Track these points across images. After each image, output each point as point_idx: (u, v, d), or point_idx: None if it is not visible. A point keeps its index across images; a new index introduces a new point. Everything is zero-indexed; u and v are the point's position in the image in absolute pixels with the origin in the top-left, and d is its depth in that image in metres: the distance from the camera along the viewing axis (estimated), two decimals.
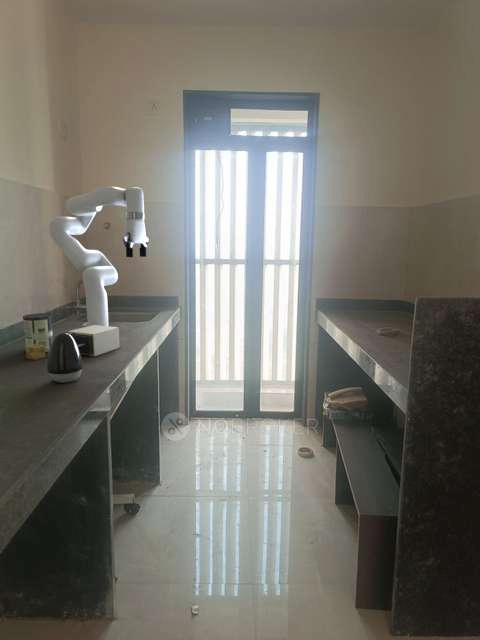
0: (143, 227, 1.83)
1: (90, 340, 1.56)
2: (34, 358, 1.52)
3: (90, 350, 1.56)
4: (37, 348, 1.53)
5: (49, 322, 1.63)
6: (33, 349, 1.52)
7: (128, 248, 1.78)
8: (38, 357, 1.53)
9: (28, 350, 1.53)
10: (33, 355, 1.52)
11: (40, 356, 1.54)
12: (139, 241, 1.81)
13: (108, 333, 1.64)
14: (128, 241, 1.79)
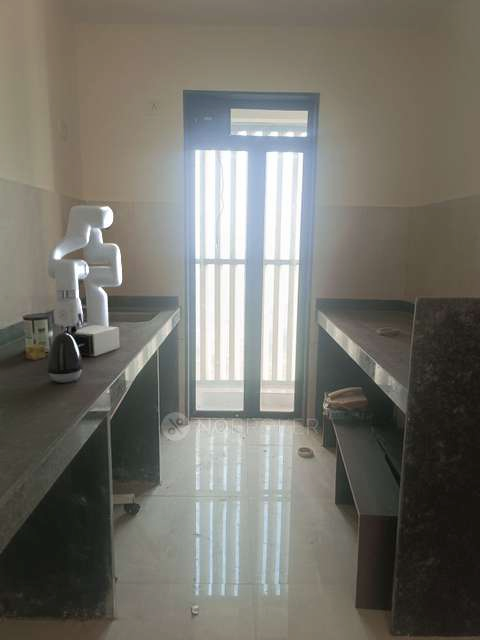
0: None
1: (90, 340, 1.56)
2: (34, 358, 1.52)
3: (90, 350, 1.56)
4: (37, 348, 1.53)
5: (49, 322, 1.63)
6: (33, 349, 1.52)
7: None
8: (38, 357, 1.53)
9: (28, 350, 1.53)
10: (33, 355, 1.52)
11: (40, 356, 1.54)
12: None
13: (108, 333, 1.64)
14: (72, 326, 1.52)
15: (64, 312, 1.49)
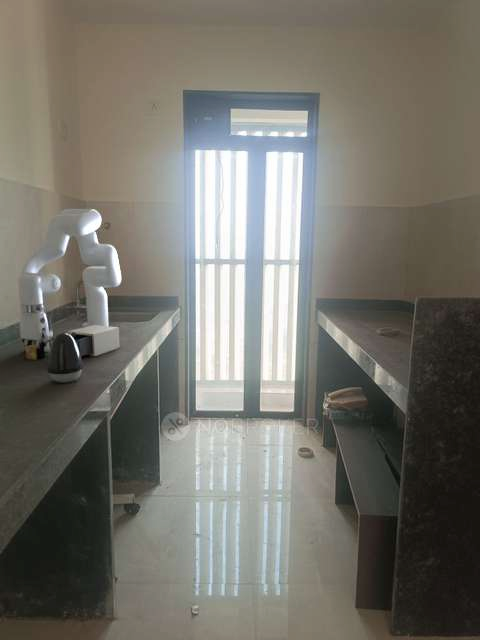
0: (32, 322, 1.49)
1: None
2: (34, 358, 1.52)
3: None
4: None
5: (49, 322, 1.63)
6: (33, 349, 1.52)
7: None
8: None
9: (28, 350, 1.53)
10: (33, 355, 1.52)
11: None
12: (28, 337, 1.52)
13: (108, 333, 1.64)
14: None
15: None
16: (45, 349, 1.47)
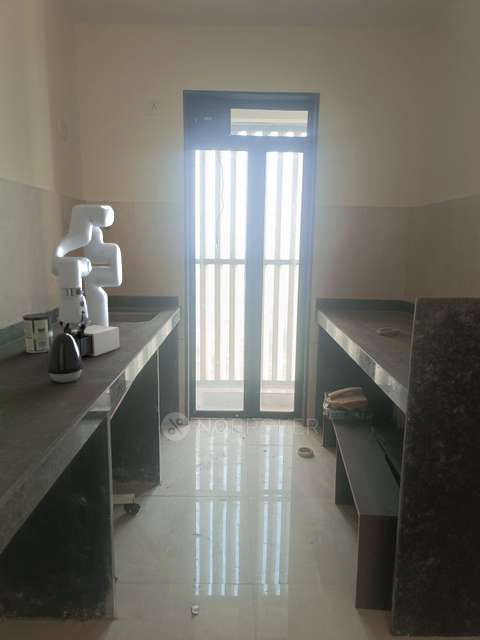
0: (72, 305, 1.50)
1: (78, 343, 1.50)
2: None
3: None
4: None
5: (49, 322, 1.63)
6: None
7: None
8: None
9: None
10: None
11: None
12: (68, 320, 1.53)
13: (108, 333, 1.64)
14: None
15: None
16: (47, 349, 1.48)
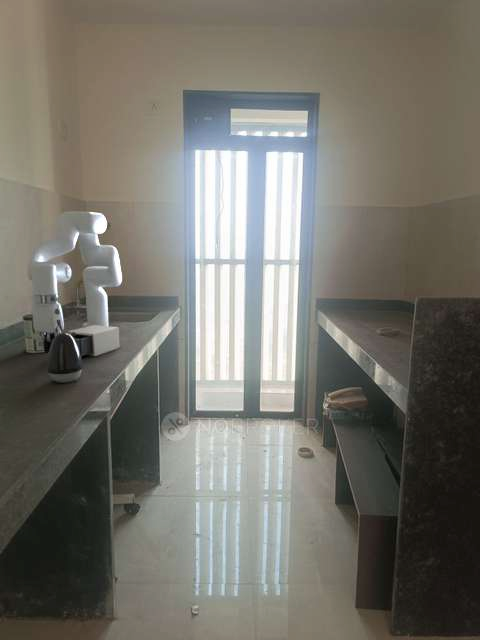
0: (46, 313, 1.40)
1: (78, 343, 1.50)
2: None
3: None
4: None
5: None
6: None
7: None
8: None
9: None
10: None
11: None
12: (42, 330, 1.42)
13: (108, 333, 1.64)
14: None
15: None
16: None
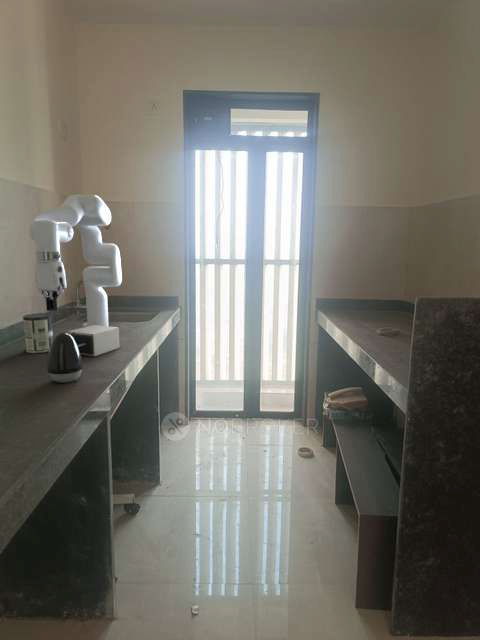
0: (49, 270, 1.40)
1: (91, 340, 1.56)
2: None
3: (91, 350, 1.57)
4: None
5: (49, 322, 1.63)
6: None
7: None
8: None
9: None
10: None
11: None
12: (44, 288, 1.42)
13: (108, 333, 1.64)
14: (47, 290, 1.45)
15: None
16: None
